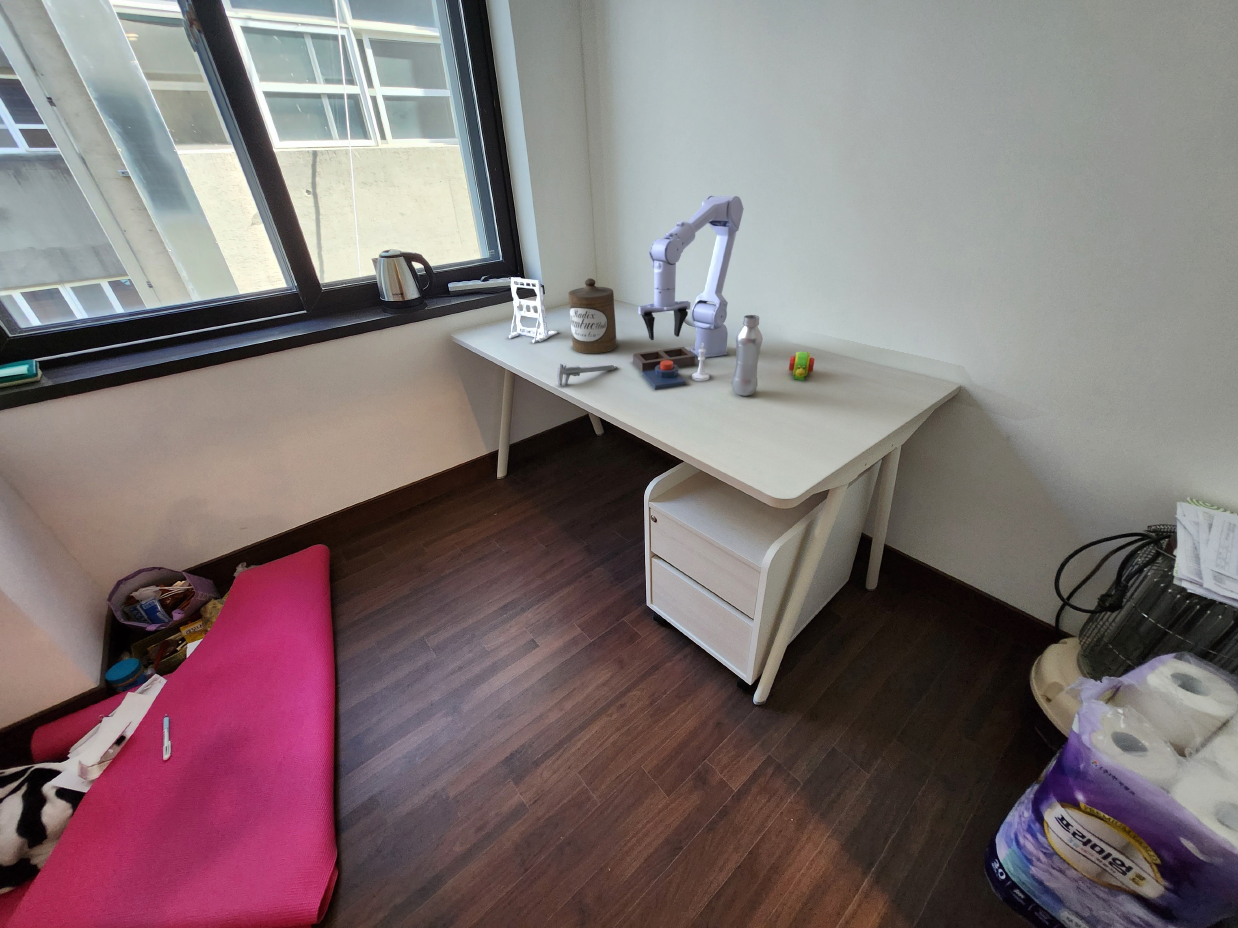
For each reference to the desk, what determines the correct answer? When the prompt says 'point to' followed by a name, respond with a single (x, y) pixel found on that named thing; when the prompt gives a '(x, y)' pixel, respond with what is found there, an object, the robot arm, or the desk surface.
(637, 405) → the desk surface
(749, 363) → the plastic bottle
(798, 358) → the green wheeled toy
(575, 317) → the wooden container
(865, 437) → the desk surface
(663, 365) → the station button
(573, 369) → the caliper
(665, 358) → the holder
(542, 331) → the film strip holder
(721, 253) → the robot arm
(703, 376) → the chess piece
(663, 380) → the station
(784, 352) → the desk surface
